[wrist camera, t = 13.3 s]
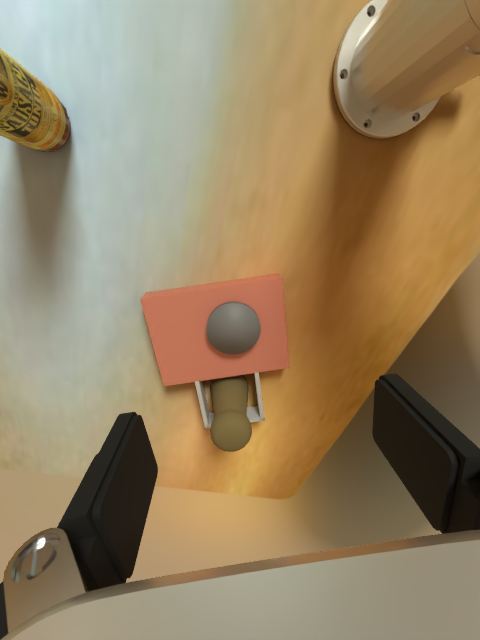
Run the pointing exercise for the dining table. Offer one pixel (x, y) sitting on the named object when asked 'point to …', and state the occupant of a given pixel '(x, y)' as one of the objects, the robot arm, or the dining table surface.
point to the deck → (219, 333)
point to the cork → (230, 413)
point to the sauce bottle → (30, 109)
